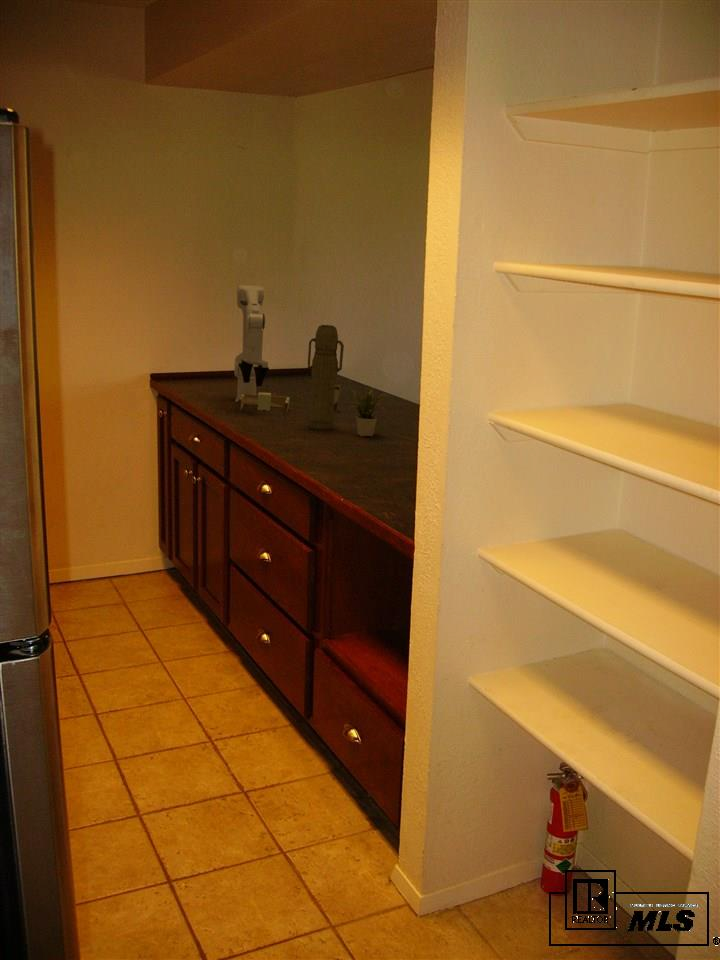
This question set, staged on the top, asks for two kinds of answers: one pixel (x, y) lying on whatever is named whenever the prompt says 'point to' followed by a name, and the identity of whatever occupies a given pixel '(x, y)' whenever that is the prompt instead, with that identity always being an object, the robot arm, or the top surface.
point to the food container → (336, 396)
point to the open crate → (253, 400)
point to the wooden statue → (324, 377)
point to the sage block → (264, 401)
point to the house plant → (366, 414)
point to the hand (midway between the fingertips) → (252, 384)
